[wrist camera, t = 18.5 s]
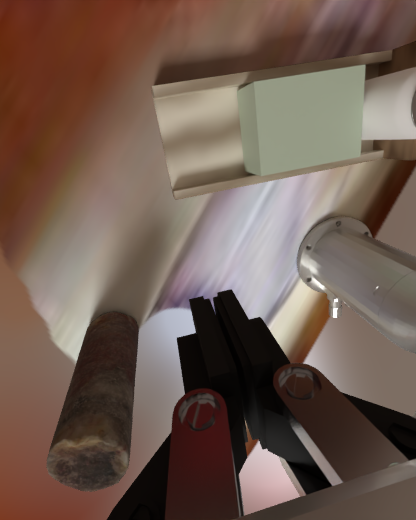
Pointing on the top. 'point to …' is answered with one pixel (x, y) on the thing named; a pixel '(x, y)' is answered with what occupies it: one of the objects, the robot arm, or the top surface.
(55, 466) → the brown textured cylinder
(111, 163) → the top surface
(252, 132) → the sliding block
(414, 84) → the can
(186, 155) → the channel
